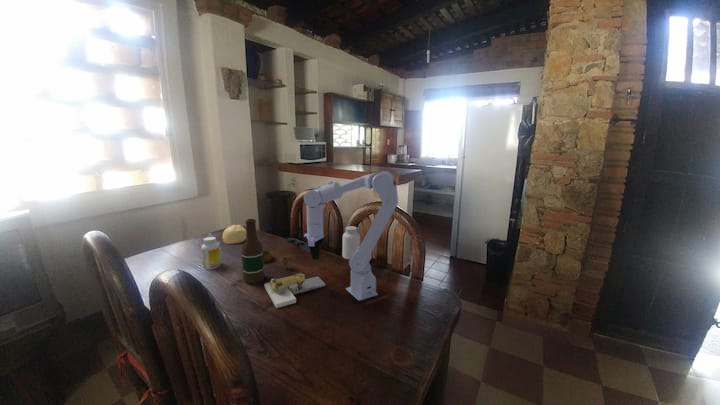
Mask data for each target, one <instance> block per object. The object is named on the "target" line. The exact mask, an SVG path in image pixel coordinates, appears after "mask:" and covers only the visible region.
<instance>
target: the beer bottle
mask: <svg viewBox="0 0 720 405" xmlns="http://www.w3.org/2000/svg"><path fill="white" fill-rule="evenodd" d="M244 223H245V225H246V227H245V229H246V240H245V241H244V244H243V245H242V247H241V248H242V249H241V261H242V262H241V263H242V277H243V278H242V279H243V282H244V283H246V284H248V285H253V284H254V285H255V284H260V283H261V282H263V281H264V279H265V262H264V257H263V251H264V248H263V244H262V243H261V241H260V240H259V238H258V236H257V234H258V233H257V225H256V223H257V220H256V219H255V218H247V219H246V220H245V222H244Z"/></svg>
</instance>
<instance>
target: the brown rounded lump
mask: <svg viewBox="0 0 720 405" xmlns="http://www.w3.org/2000/svg"><path fill="white" fill-rule="evenodd" d="M263 257H264V266H267V265H271V264H272V263H271V262H270V261H271V260H273V252H272V250H263ZM268 262H270V263H268ZM265 263H267V264H265ZM281 263H282V265H283V266H284V267H283V268H284V270H287V265H288V264H289V257H288V256H287V257H286V256H283V257H282V258H281Z"/></svg>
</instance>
